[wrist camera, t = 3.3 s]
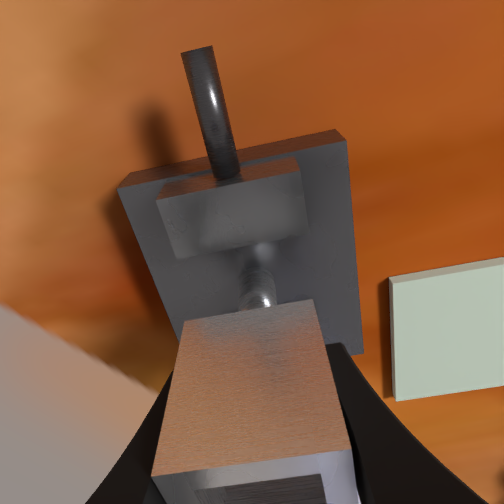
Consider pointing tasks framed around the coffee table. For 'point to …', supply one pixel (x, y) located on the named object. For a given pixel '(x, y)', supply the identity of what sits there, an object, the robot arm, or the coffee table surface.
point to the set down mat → (447, 329)
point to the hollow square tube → (254, 414)
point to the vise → (249, 222)
